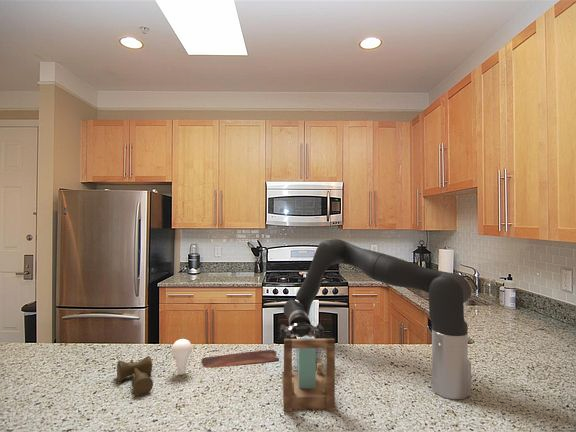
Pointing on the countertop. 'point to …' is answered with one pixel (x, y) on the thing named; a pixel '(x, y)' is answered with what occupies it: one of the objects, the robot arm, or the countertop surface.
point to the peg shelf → (324, 380)
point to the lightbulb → (181, 354)
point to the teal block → (307, 367)
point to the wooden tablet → (240, 359)
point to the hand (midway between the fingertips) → (303, 338)
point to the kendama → (137, 374)
